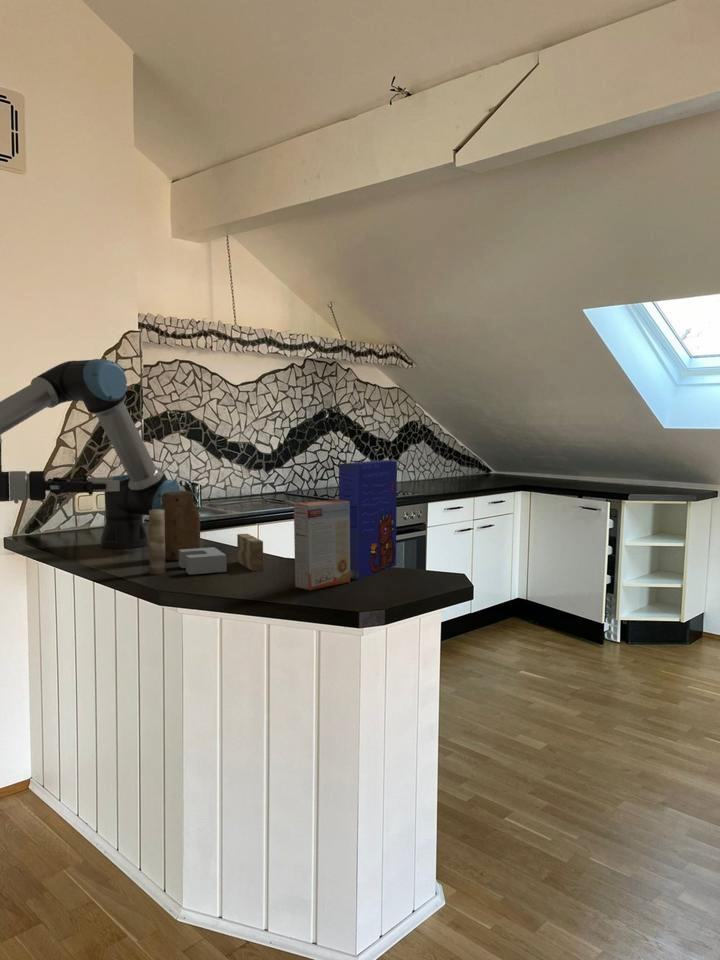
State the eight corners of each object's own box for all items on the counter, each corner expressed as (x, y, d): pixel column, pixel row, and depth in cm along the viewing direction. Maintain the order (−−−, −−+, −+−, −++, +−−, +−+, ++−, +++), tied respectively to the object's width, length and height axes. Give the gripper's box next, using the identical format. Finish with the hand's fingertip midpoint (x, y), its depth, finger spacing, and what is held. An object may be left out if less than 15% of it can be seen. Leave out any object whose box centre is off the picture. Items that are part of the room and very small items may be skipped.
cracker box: (335, 579, 191) (335, 498, 189) (351, 582, 187) (351, 500, 185) (293, 587, 181) (292, 502, 180) (308, 591, 177) (308, 504, 175)
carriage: (179, 565, 206) (178, 549, 206) (214, 562, 211) (214, 547, 210) (189, 574, 194) (189, 557, 194) (226, 571, 198) (226, 555, 198)
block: (171, 562, 212) (170, 493, 210) (157, 558, 217) (157, 491, 216) (203, 557, 220) (203, 491, 218) (189, 554, 225) (189, 489, 223)
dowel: (148, 572, 198) (147, 509, 197) (163, 571, 200) (163, 508, 199) (151, 575, 195) (150, 511, 193) (166, 574, 196) (165, 510, 195)
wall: (237, 561, 214) (237, 534, 214) (247, 560, 215) (247, 533, 215) (252, 571, 201) (252, 542, 200) (263, 570, 202) (263, 541, 201)
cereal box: (377, 563, 212) (378, 459, 210) (395, 565, 210) (396, 460, 207) (338, 577, 194) (338, 463, 191) (358, 579, 191) (359, 463, 188)
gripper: (27, 496, 198) (110, 494, 207) (29, 505, 176) (122, 502, 185) (27, 468, 198) (110, 467, 207) (29, 474, 175) (122, 472, 184)
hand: (116, 483), depth 196 cm, fingers open, 13 cm apart
